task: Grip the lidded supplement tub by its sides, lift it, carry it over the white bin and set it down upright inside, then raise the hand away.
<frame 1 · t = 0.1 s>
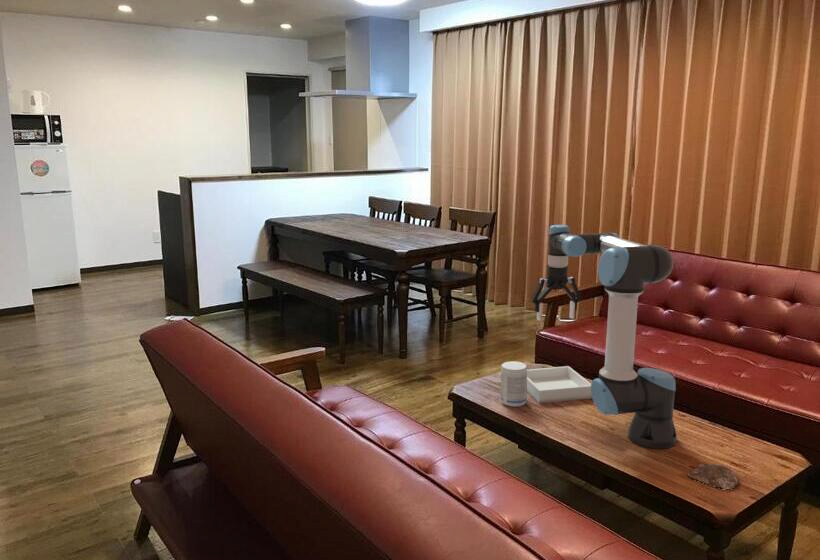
hand: (555, 319, 254), 28 cm above the table, tool pointing down, fingers open, 13 cm apart
supplement tub: (513, 402, 246), on the table
shell: (715, 480, 191), on the table
white bin: (554, 389, 258), on the table
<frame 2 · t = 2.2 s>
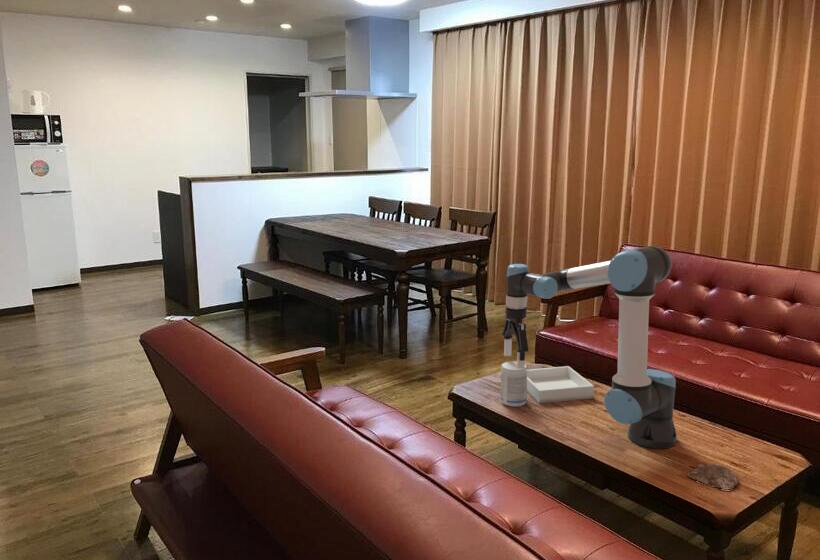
hand: (513, 361, 243), 16 cm above the table, tool pointing down, fingers open, 13 cm apart
nothing on the table moved.
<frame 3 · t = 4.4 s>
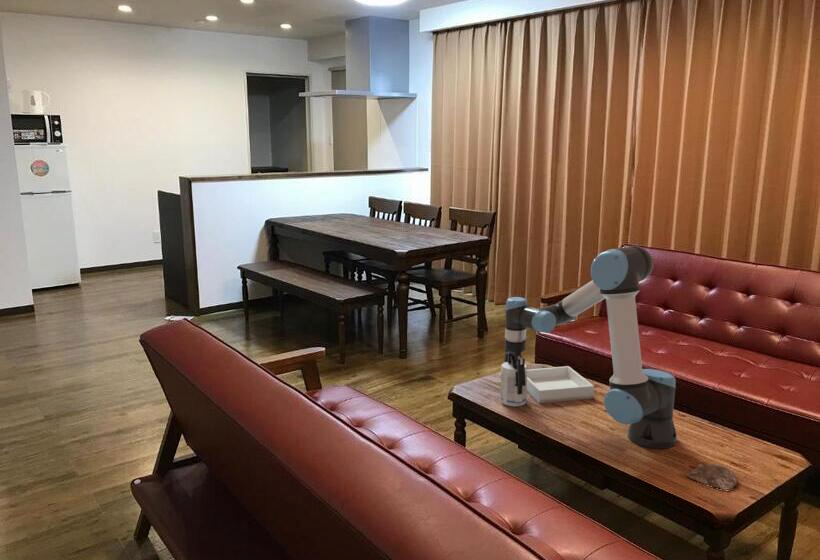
hand: (513, 396, 245), 2 cm above the table, tool pointing down, fingers closed on supplement tub, 10 cm apart
supplement tub: (513, 402, 246), on the table, touching gripper
everything else where it was.
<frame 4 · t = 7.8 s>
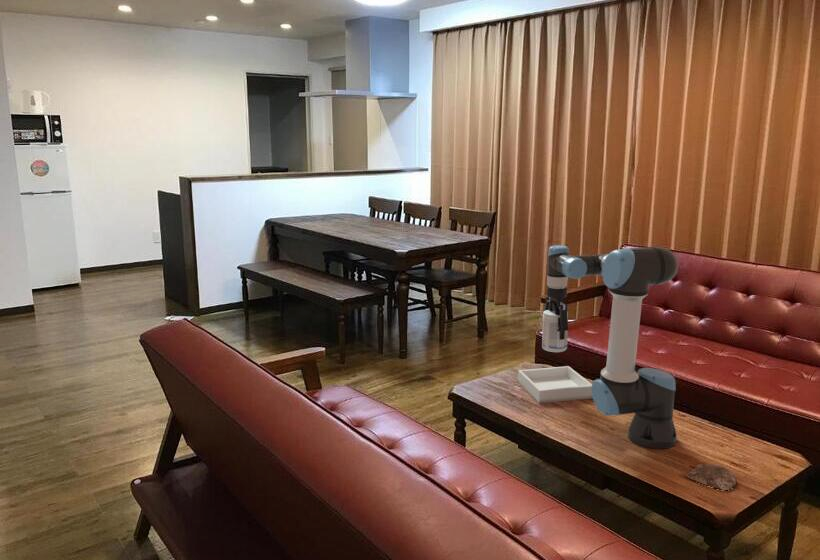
hand: (554, 342, 253), 20 cm above the table, tool pointing down, fingers closed on supplement tub, 10 cm apart
supplement tub: (554, 349, 253), point 17 cm above the table, touching gripper
everything else where it was.
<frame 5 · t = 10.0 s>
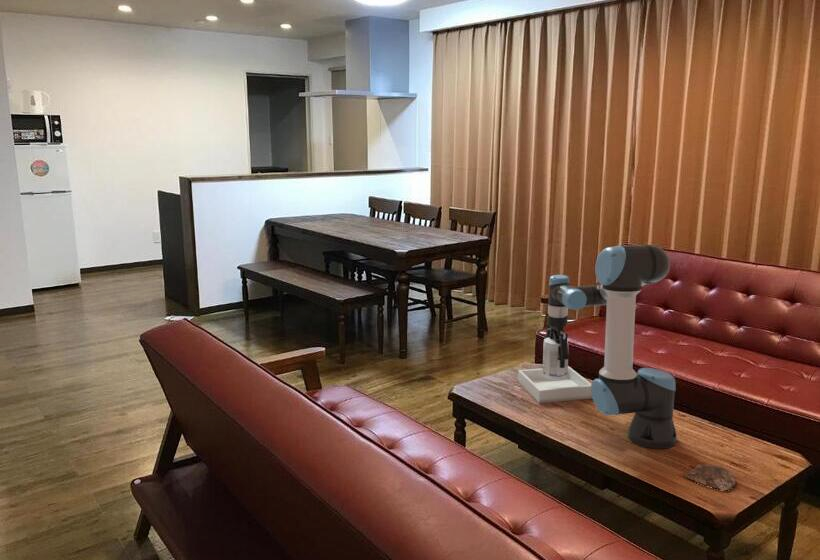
hand: (555, 370, 256), 8 cm above the table, tool pointing down, fingers closed on supplement tub, 10 cm apart
supplement tub: (554, 376, 256), point 5 cm above the table, touching gripper
when the fingers open (5 cm above the table, at t = 11.6 s): supplement tub drops 2 cm, resting on white bin.
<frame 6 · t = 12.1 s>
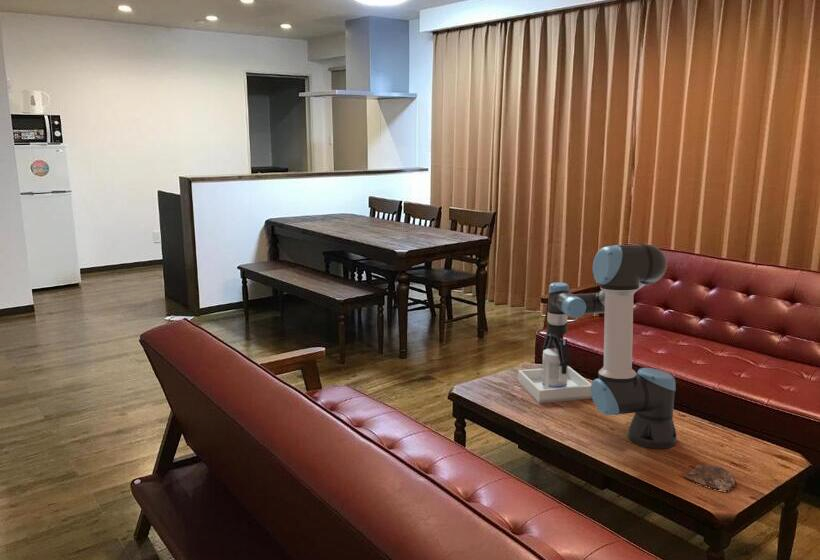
hand: (554, 374, 256), 6 cm above the table, tool pointing down, fingers open, 13 cm apart
supplement tub: (554, 387, 257), point 1 cm above the table, touching white bin
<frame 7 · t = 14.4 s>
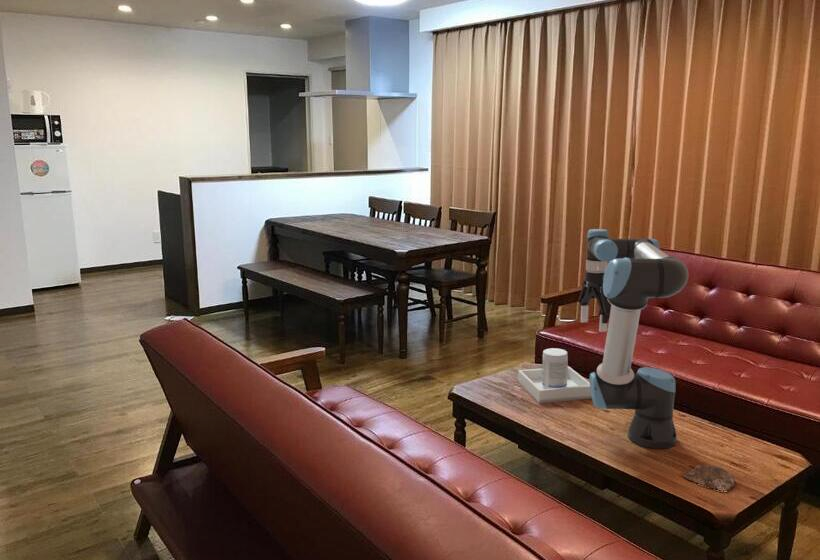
hand: (593, 326, 246), 27 cm above the table, tool pointing down, fingers open, 13 cm apart
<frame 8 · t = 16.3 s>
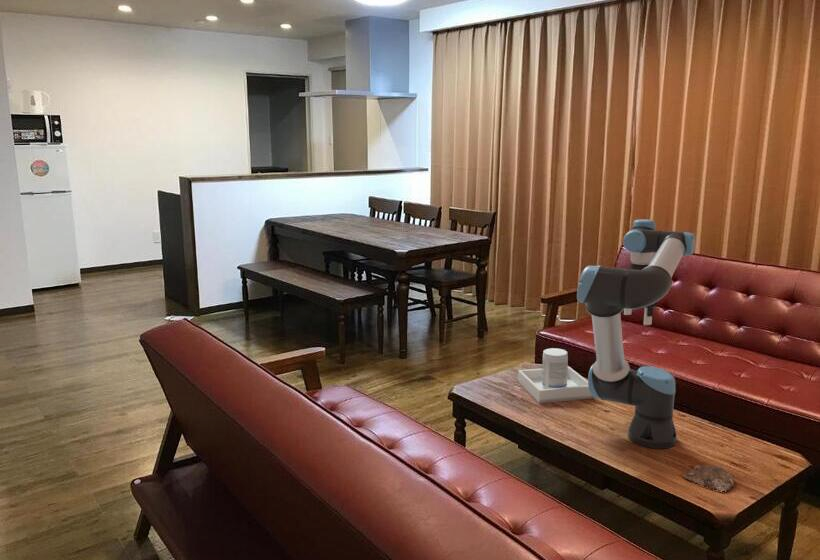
hand: (637, 319, 240), 32 cm above the table, tool pointing down, fingers open, 13 cm apart
at the end: supplement tub inside the target area on the white bin (0.2 cm from its centre), point 0.8 cm above the white bin's base; supplement tub tilted 0°; the gripper is holding nothing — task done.
